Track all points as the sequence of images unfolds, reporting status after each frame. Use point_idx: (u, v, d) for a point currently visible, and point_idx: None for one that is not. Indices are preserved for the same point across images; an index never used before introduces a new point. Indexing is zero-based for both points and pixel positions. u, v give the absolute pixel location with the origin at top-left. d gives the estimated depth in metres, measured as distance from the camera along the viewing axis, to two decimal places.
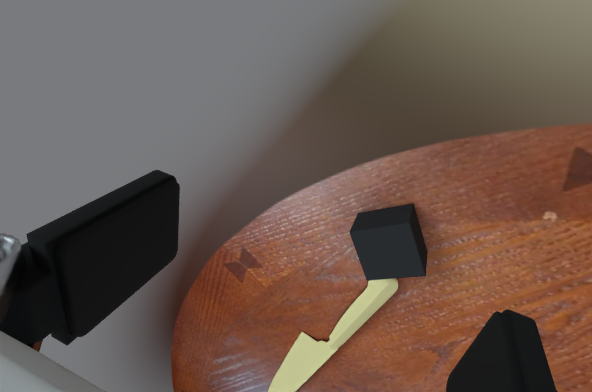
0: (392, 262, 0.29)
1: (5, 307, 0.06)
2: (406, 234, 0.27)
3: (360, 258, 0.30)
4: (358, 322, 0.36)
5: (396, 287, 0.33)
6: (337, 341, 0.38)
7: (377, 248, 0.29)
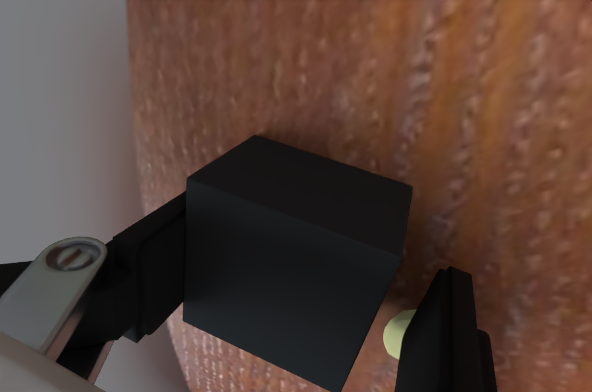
0: (302, 302, 0.08)
1: (80, 314, 0.06)
2: (222, 210, 0.08)
3: (262, 356, 0.10)
4: None
5: None
6: None
7: (246, 304, 0.09)
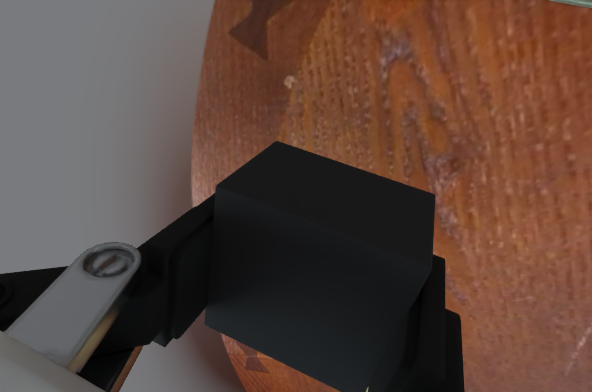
0: (327, 309, 0.08)
1: (110, 322, 0.06)
2: (250, 218, 0.08)
3: (283, 361, 0.10)
4: None
5: None
6: None
7: (270, 310, 0.09)
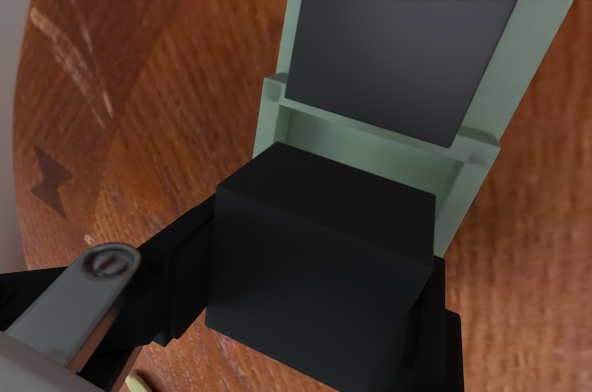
0: (328, 310, 0.08)
1: (110, 322, 0.06)
2: (250, 218, 0.08)
3: (284, 361, 0.10)
4: None
5: (136, 384, 0.29)
6: None
7: (270, 310, 0.09)
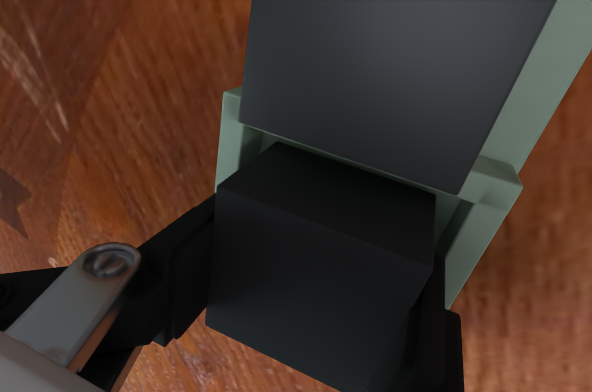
0: (329, 310, 0.08)
1: (110, 322, 0.06)
2: (250, 218, 0.08)
3: (284, 361, 0.10)
4: None
5: None
6: None
7: (270, 310, 0.09)
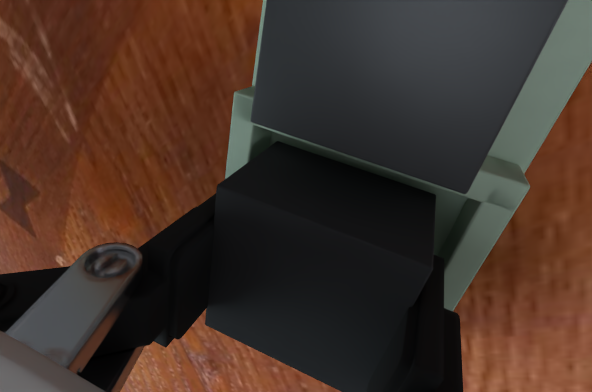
0: (329, 309, 0.08)
1: (111, 322, 0.06)
2: (251, 218, 0.08)
3: (284, 361, 0.10)
4: None
5: None
6: None
7: (270, 310, 0.09)
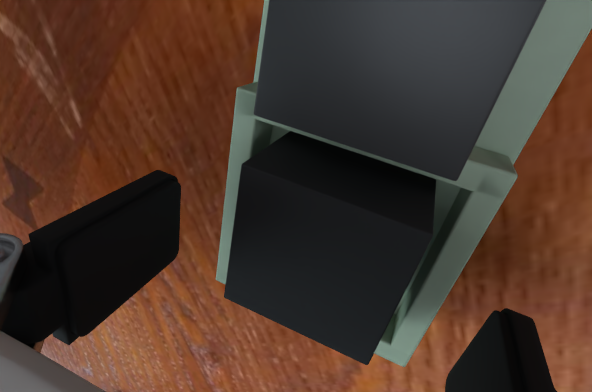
0: (339, 277, 0.09)
1: (7, 307, 0.06)
2: (271, 193, 0.09)
3: (297, 329, 0.11)
4: None
5: None
6: None
7: (286, 280, 0.10)
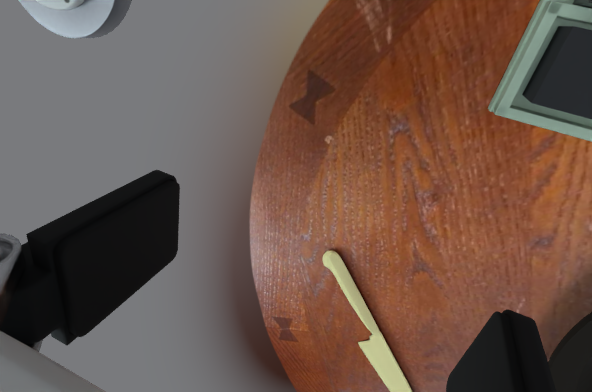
0: None
1: (5, 307, 0.06)
2: (585, 38, 0.22)
3: (573, 112, 0.24)
4: (357, 299, 0.42)
5: (336, 255, 0.41)
6: (369, 326, 0.43)
7: (576, 83, 0.23)
